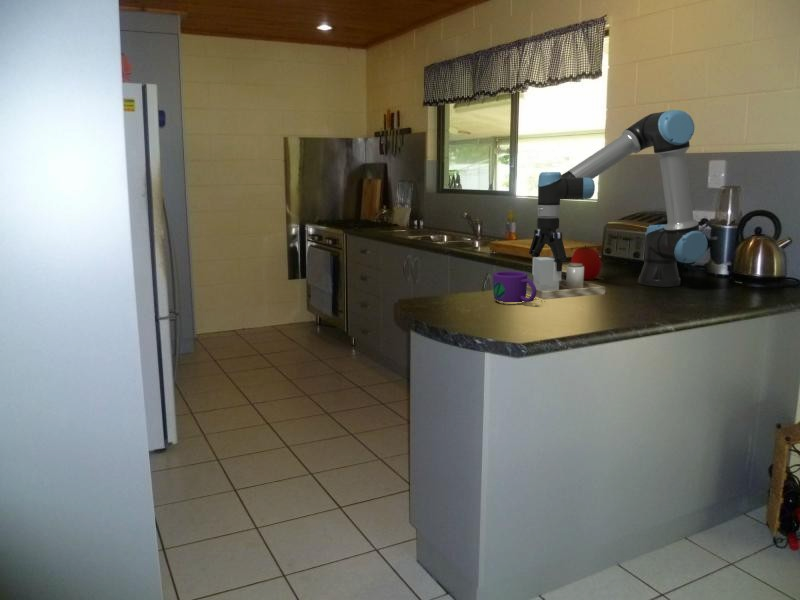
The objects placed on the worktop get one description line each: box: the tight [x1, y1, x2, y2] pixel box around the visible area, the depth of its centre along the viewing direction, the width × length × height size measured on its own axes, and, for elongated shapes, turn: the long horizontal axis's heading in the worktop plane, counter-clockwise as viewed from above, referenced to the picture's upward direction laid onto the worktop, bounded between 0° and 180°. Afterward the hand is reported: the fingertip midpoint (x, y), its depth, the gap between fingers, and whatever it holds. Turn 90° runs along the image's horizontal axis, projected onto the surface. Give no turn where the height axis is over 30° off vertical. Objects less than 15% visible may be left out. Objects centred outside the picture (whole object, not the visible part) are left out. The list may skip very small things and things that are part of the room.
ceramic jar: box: [565, 262, 585, 289], centre depth 232 cm, size 6×6×10 cm
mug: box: [492, 270, 537, 303], centre depth 217 cm, size 17×11×10 cm, turn 36°
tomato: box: [570, 245, 602, 281], centre depth 258 cm, size 13×11×14 cm
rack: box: [526, 279, 606, 301], centre depth 231 cm, size 25×18×4 cm
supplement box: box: [532, 256, 559, 291], centre depth 228 cm, size 7×7×13 cm
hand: (546, 277), depth 228 cm, fingers open, 13 cm apart
